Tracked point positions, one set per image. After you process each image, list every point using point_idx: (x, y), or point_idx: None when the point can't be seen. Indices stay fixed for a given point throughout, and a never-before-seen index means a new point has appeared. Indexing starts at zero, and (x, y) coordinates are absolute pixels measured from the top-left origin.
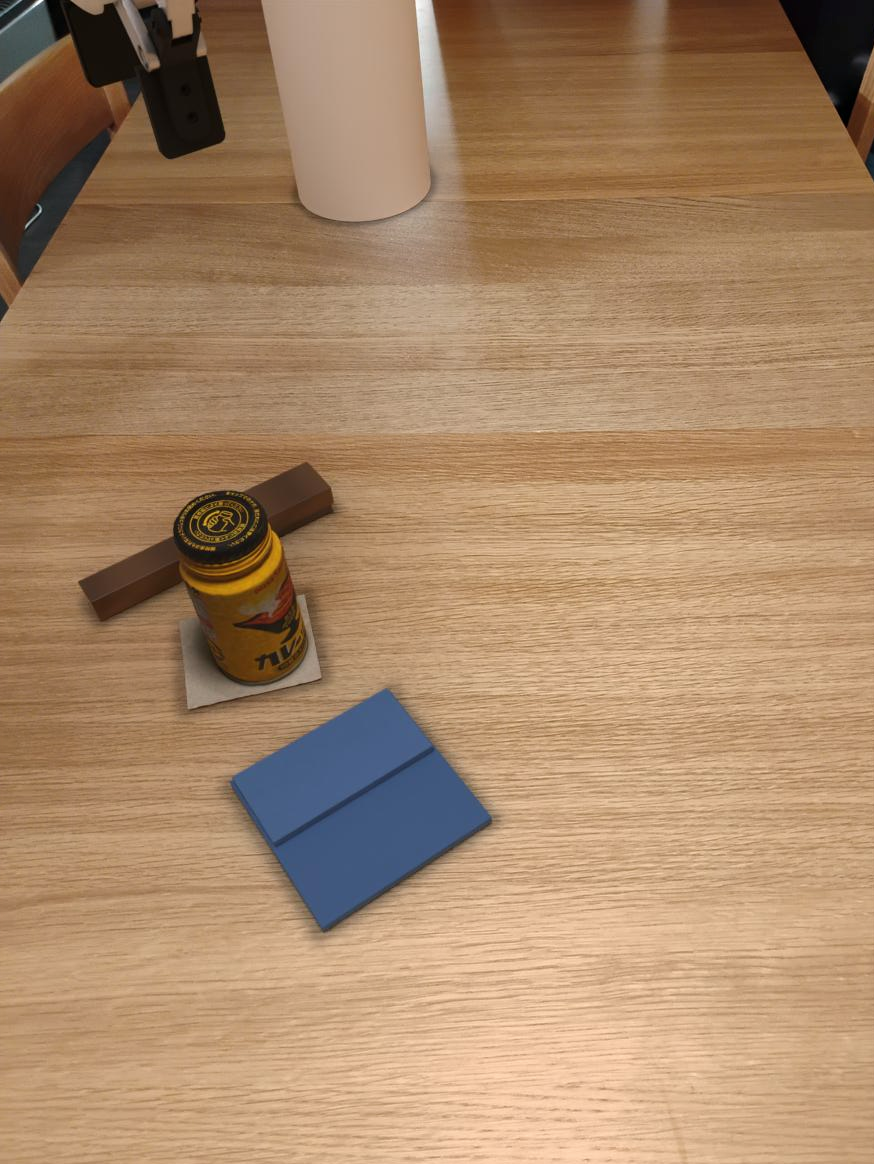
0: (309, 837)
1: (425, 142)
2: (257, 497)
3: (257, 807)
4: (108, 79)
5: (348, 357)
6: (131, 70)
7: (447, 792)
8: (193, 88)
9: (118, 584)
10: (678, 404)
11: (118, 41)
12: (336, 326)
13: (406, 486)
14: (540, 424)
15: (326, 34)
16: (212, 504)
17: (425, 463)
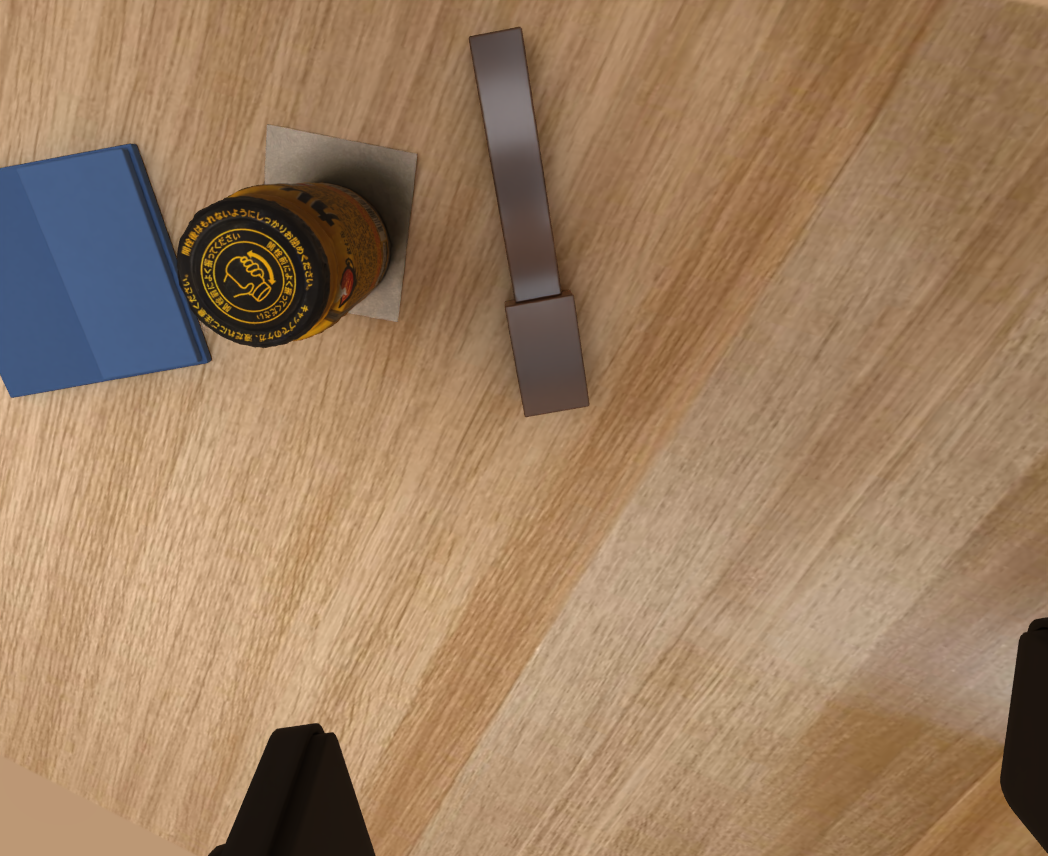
0: (27, 210)
1: None
2: (554, 324)
3: (69, 165)
4: (1027, 684)
5: (800, 513)
6: (1019, 767)
7: (50, 369)
8: None
9: (486, 87)
10: (504, 778)
11: None
12: (873, 522)
13: (524, 491)
14: (548, 655)
15: None
16: (289, 278)
17: (551, 524)
